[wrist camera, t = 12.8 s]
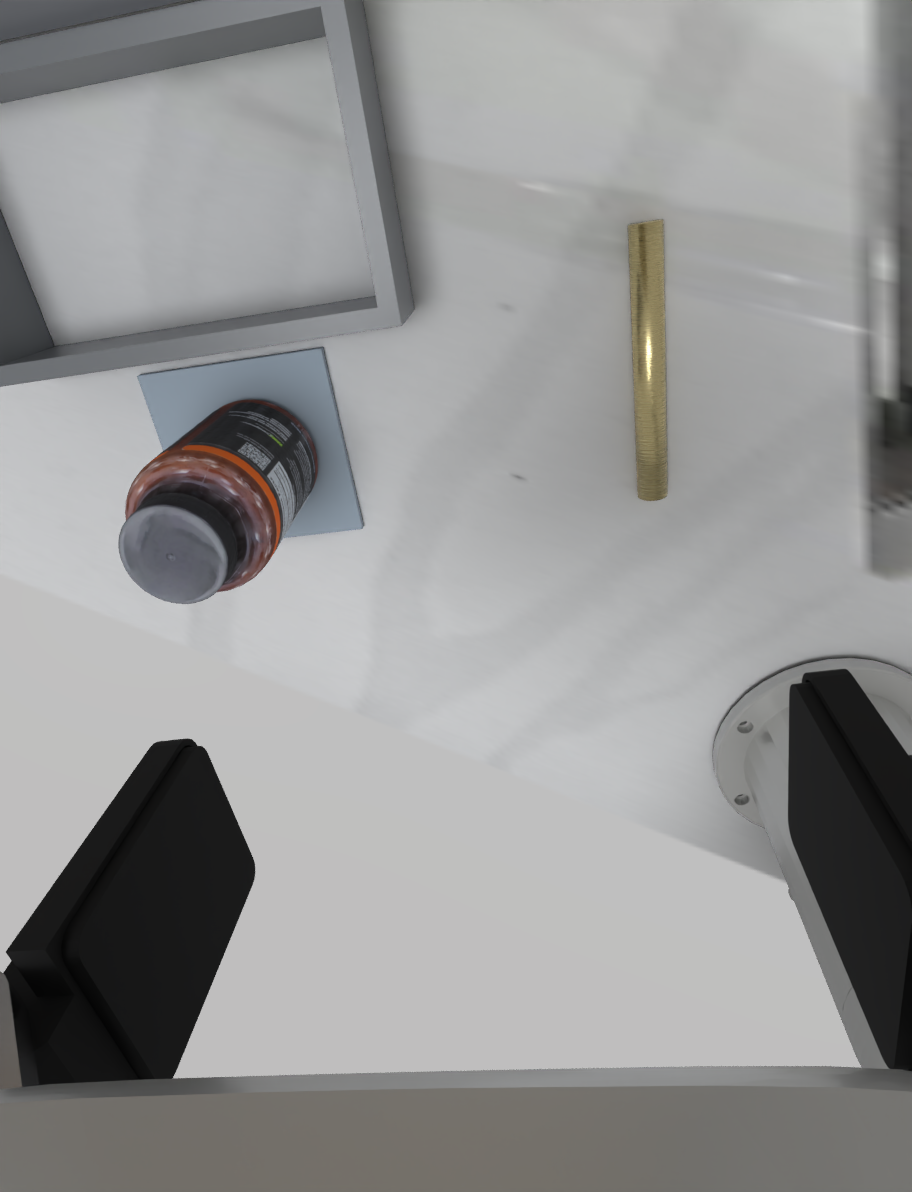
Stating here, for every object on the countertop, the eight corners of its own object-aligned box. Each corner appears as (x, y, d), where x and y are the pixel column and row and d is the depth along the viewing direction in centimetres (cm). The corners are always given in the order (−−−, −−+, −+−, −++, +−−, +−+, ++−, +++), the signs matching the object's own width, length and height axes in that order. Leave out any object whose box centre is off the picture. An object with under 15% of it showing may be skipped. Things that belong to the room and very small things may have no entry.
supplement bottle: (201, 500, 38) (90, 611, 28) (202, 384, 35) (79, 462, 25) (316, 522, 38) (247, 641, 28) (327, 409, 35) (255, 496, 25)
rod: (657, 502, 35) (632, 498, 36) (673, 492, 36) (647, 488, 37) (651, 223, 29) (621, 226, 30) (669, 218, 30) (640, 221, 31)
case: (414, 309, 33) (401, 326, 29) (38, 367, 35) (-22, 389, 31) (362, 1, 28) (338, -30, 24) (-75, 93, 30) (-163, 79, 26)
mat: (363, 525, 38) (362, 528, 38) (200, 544, 39) (197, 548, 39) (322, 347, 34) (320, 348, 33) (140, 374, 35) (137, 376, 35)
